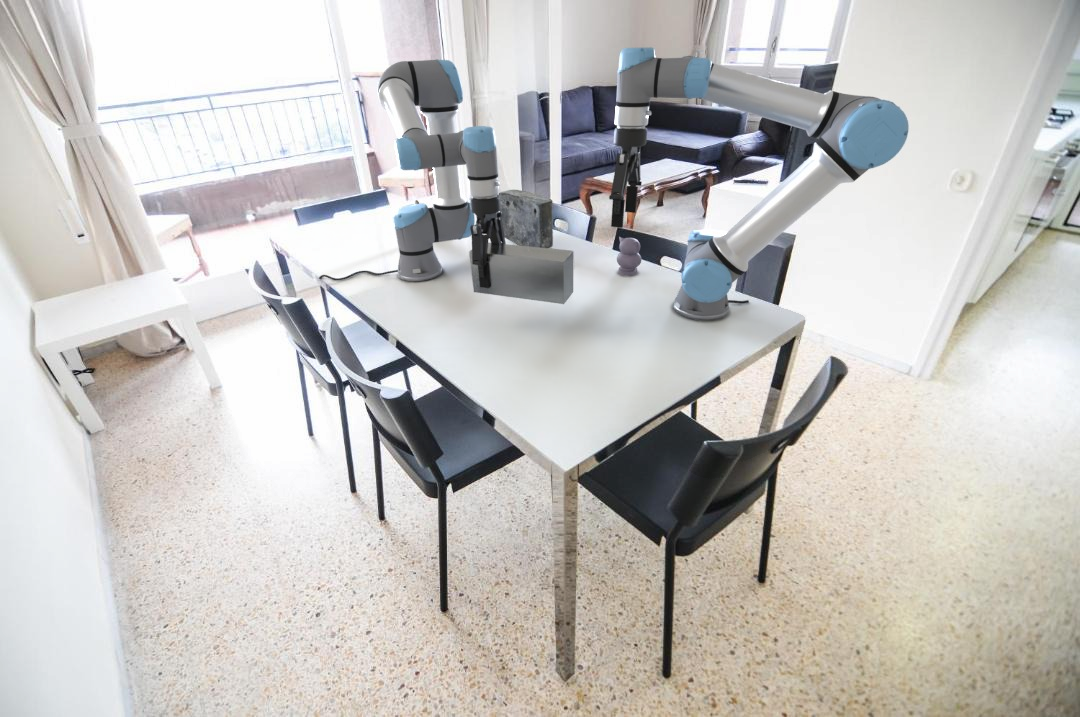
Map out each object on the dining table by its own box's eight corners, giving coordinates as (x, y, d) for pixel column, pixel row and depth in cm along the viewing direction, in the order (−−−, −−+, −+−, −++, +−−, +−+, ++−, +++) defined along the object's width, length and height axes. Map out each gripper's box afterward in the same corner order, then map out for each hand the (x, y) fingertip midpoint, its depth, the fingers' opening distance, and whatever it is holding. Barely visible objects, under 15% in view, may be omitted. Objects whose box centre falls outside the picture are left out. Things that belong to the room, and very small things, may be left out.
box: (473, 292, 134) (469, 251, 128) (486, 281, 140) (482, 241, 134) (563, 304, 126) (563, 261, 120) (573, 292, 132) (573, 250, 126)
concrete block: (558, 253, 189) (557, 199, 178) (539, 258, 184) (537, 204, 174) (519, 237, 207) (516, 187, 197) (501, 241, 203) (497, 191, 193)
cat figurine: (645, 271, 170) (647, 237, 164) (632, 278, 165) (634, 243, 159) (624, 266, 175) (626, 232, 169) (611, 272, 170) (612, 238, 164)
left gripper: (479, 207, 114) (487, 298, 126) (515, 186, 130) (519, 268, 142) (450, 205, 116) (461, 294, 128) (489, 185, 132) (496, 266, 144)
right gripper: (634, 135, 103) (626, 235, 114) (658, 120, 122) (649, 207, 133) (599, 133, 105) (595, 232, 116) (628, 119, 125) (621, 205, 136)
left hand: (492, 280), depth 135 cm, fingers closed on box, 8 cm apart
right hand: (623, 219), depth 125 cm, fingers open, 13 cm apart
